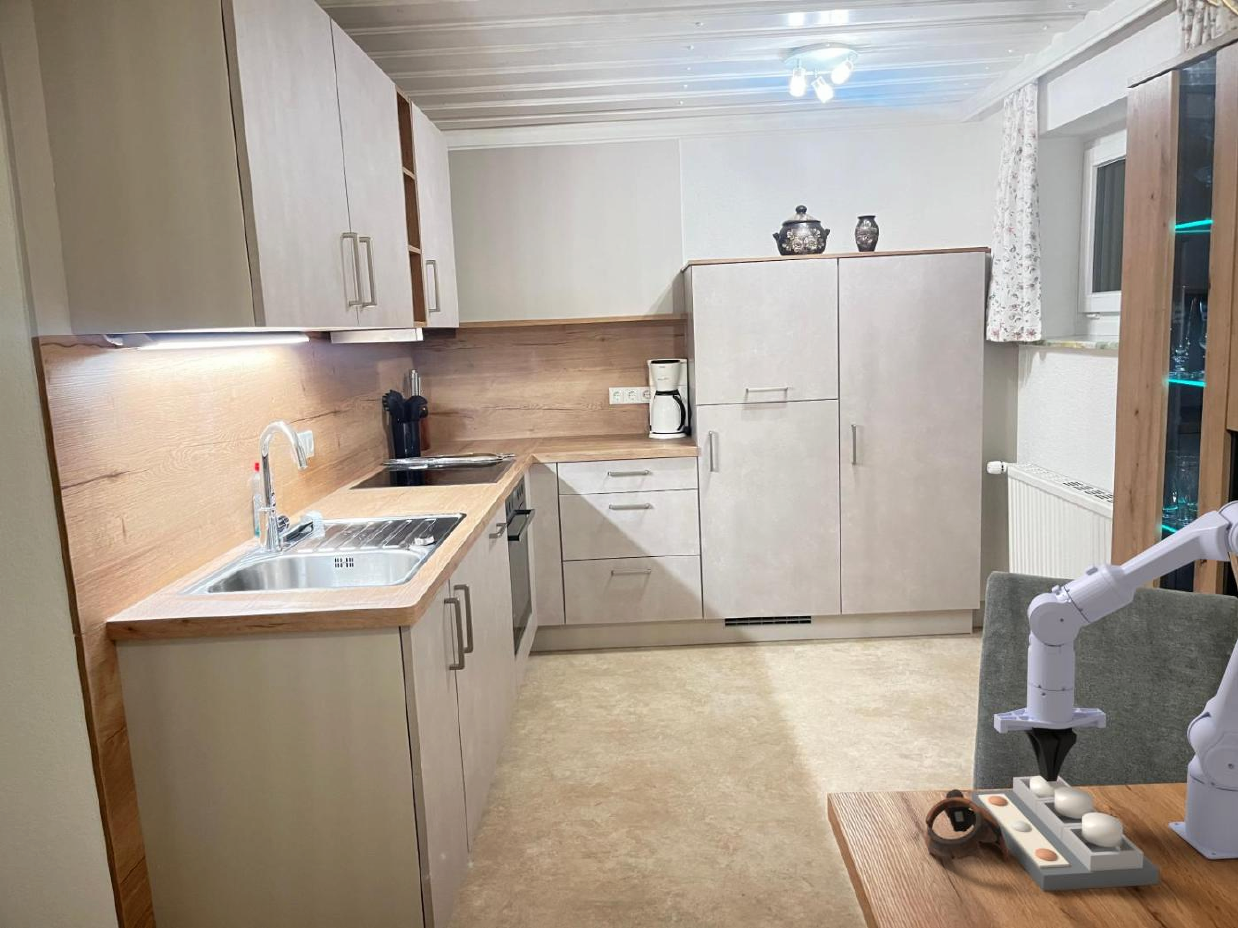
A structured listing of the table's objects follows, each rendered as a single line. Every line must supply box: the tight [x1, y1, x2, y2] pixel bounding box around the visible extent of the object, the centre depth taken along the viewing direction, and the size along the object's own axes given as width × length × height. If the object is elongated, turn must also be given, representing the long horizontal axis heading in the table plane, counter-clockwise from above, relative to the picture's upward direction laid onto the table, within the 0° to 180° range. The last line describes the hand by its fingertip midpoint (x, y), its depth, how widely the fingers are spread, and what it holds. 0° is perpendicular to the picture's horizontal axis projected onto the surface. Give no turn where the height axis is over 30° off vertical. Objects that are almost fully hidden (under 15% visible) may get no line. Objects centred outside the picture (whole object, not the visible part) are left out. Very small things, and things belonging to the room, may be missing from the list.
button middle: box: [1054, 786, 1094, 819], centre depth 116 cm, size 4×4×2 cm
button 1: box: [1030, 775, 1065, 798], centre depth 123 cm, size 4×4×2 cm
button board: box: [970, 774, 1160, 892], centre depth 116 cm, size 14×20×4 cm
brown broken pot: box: [925, 788, 1009, 861], centre depth 116 cm, size 12×10×8 cm
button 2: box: [1082, 812, 1124, 847], centre depth 110 cm, size 4×4×2 cm
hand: (1048, 777), depth 123 cm, fingers closed
